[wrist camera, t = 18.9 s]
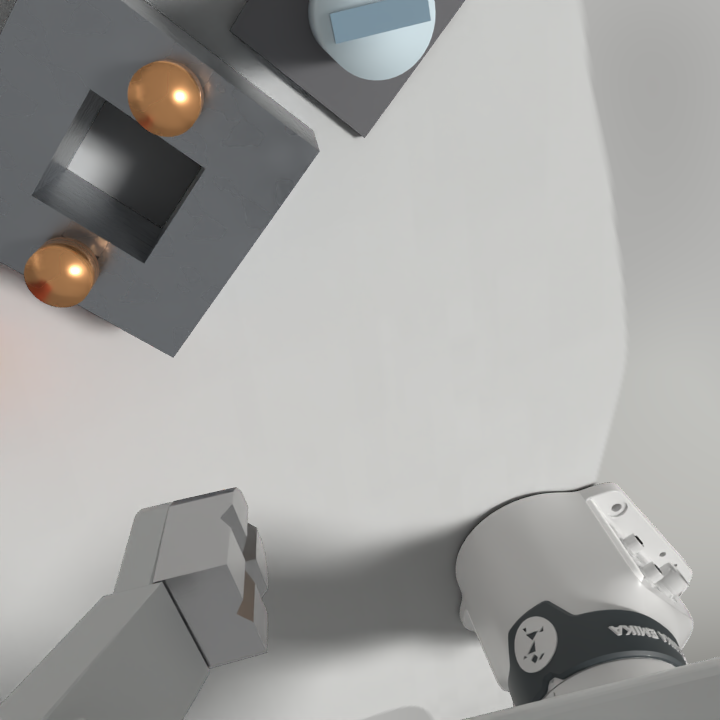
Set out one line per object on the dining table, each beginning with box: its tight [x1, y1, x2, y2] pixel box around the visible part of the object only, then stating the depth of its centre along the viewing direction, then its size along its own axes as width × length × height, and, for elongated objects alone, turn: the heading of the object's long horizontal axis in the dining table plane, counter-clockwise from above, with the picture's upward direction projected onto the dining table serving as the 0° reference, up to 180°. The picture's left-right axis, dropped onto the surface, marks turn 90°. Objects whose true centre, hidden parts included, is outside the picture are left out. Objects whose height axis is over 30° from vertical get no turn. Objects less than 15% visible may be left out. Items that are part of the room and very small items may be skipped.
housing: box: [0, 0, 319, 357], centre depth 34 cm, size 14×14×6 cm
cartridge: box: [308, 0, 436, 80], centre depth 29 cm, size 4×4×12 cm
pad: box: [230, 0, 465, 138], centre depth 34 cm, size 9×9×1 cm
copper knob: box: [24, 237, 99, 307], centre depth 33 cm, size 3×3×4 cm
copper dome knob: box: [128, 59, 204, 137], centre depth 30 cm, size 3×3×4 cm
